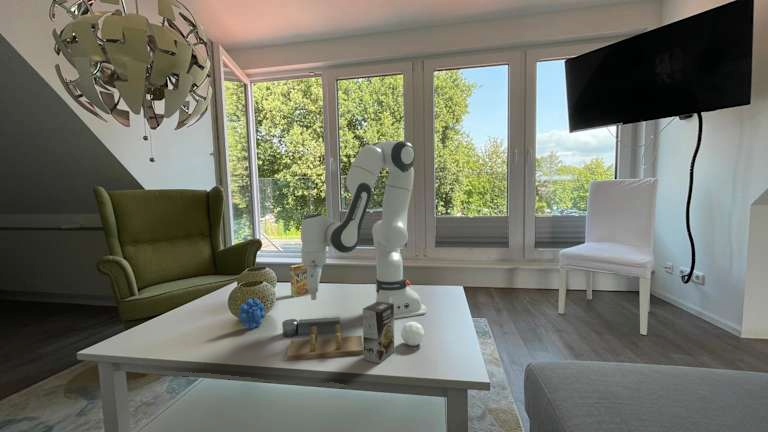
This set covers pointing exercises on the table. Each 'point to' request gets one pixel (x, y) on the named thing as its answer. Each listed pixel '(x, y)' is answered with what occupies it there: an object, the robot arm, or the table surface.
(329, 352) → the peg board
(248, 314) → the grapes
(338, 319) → the grey bar
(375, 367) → the table surface
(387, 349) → the coffee box
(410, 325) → the geometric ball
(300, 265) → the candy box
